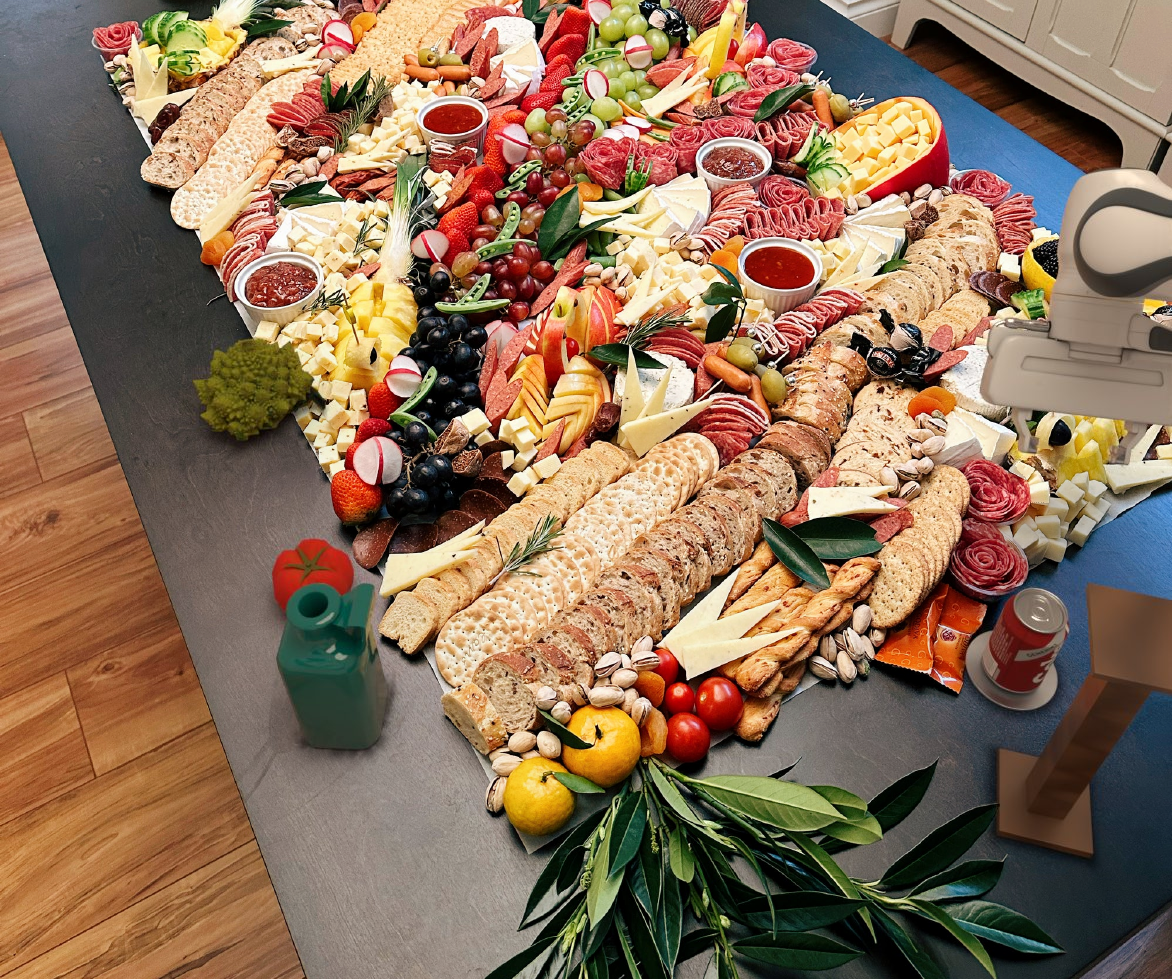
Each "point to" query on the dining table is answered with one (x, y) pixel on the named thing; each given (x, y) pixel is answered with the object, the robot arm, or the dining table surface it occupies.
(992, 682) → the steel plate
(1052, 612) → the soda can
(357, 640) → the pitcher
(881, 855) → the dining table surface
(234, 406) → the vegetable
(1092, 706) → the walnut stand
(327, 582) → the tomato
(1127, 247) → the robot arm
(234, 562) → the dining table surface
